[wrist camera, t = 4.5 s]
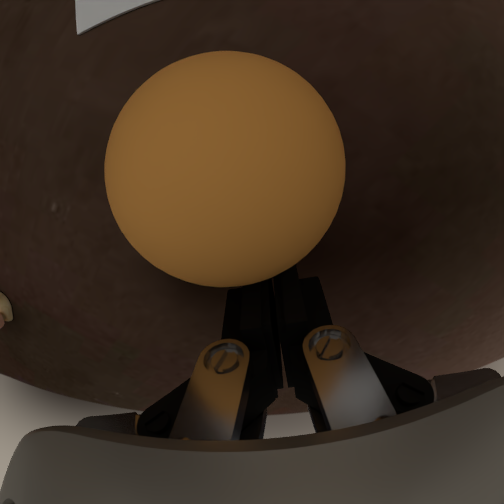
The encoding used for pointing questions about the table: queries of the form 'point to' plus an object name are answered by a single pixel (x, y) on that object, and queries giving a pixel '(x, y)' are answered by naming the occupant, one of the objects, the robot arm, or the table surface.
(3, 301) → the grandmother figurine
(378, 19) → the table surface
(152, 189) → the ball
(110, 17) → the pin deck mark
